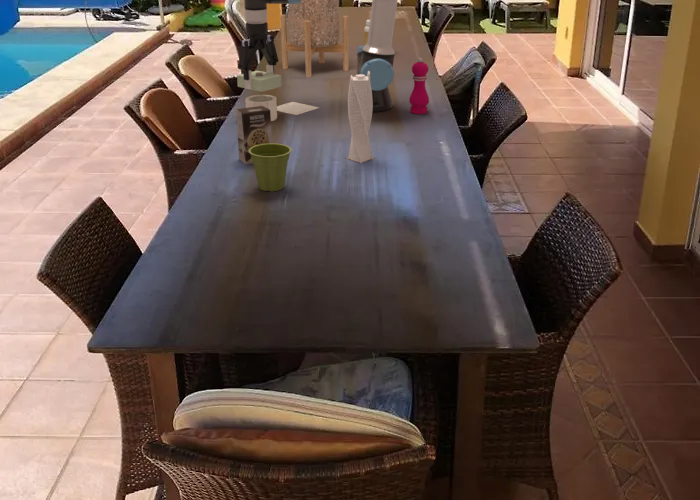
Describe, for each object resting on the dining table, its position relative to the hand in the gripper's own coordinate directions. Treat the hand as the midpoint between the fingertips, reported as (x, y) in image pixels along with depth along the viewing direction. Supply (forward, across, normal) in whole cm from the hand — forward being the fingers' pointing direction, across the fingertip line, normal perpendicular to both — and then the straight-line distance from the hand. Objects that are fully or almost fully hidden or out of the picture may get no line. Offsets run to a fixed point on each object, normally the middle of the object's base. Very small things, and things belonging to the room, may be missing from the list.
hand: (259, 85), depth 281 cm
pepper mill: (+12, -43, +39) cm, 59 cm away
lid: (0, 0, 0) cm, 0 cm away
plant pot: (+12, +47, +52) cm, 71 cm away
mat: (+12, -17, 0) cm, 21 cm away
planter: (+12, -72, -39) cm, 83 cm away
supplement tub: (+12, -112, -35) cm, 118 cm away
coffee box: (+12, +33, +31) cm, 47 cm away
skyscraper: (+12, +12, +56) cm, 59 cm away
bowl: (+12, 0, 0) cm, 12 cm away
